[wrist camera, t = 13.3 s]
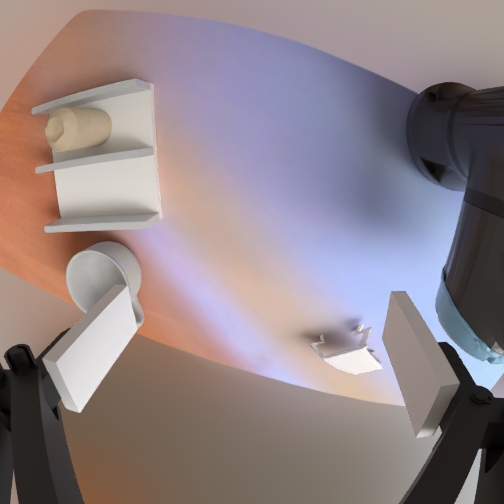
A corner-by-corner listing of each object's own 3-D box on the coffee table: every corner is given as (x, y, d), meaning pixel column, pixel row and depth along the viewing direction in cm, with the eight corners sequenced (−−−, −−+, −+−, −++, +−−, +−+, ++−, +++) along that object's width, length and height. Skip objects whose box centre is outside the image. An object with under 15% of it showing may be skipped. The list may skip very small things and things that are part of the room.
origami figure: (385, 317, 46) (393, 335, 42) (377, 358, 49) (383, 377, 45) (310, 320, 48) (312, 339, 43) (308, 362, 51) (309, 381, 46)
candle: (112, 145, 40) (70, 150, 30) (82, 147, 40) (38, 155, 31) (112, 106, 38) (70, 103, 28) (81, 111, 38) (37, 111, 29)
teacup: (81, 249, 47) (53, 268, 40) (127, 221, 45) (100, 238, 37) (124, 319, 51) (103, 345, 44) (172, 299, 49) (155, 327, 41)
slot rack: (153, 84, 37) (135, 78, 32) (162, 217, 44) (147, 229, 39) (54, 108, 39) (31, 108, 34) (66, 222, 46) (45, 232, 41)
